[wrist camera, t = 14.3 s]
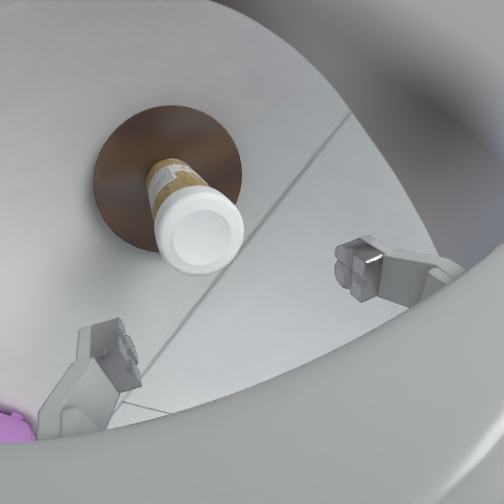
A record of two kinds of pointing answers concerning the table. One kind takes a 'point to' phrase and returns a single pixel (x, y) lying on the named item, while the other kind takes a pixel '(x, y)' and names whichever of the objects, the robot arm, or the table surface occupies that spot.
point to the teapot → (14, 429)
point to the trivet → (150, 153)
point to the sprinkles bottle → (192, 220)
